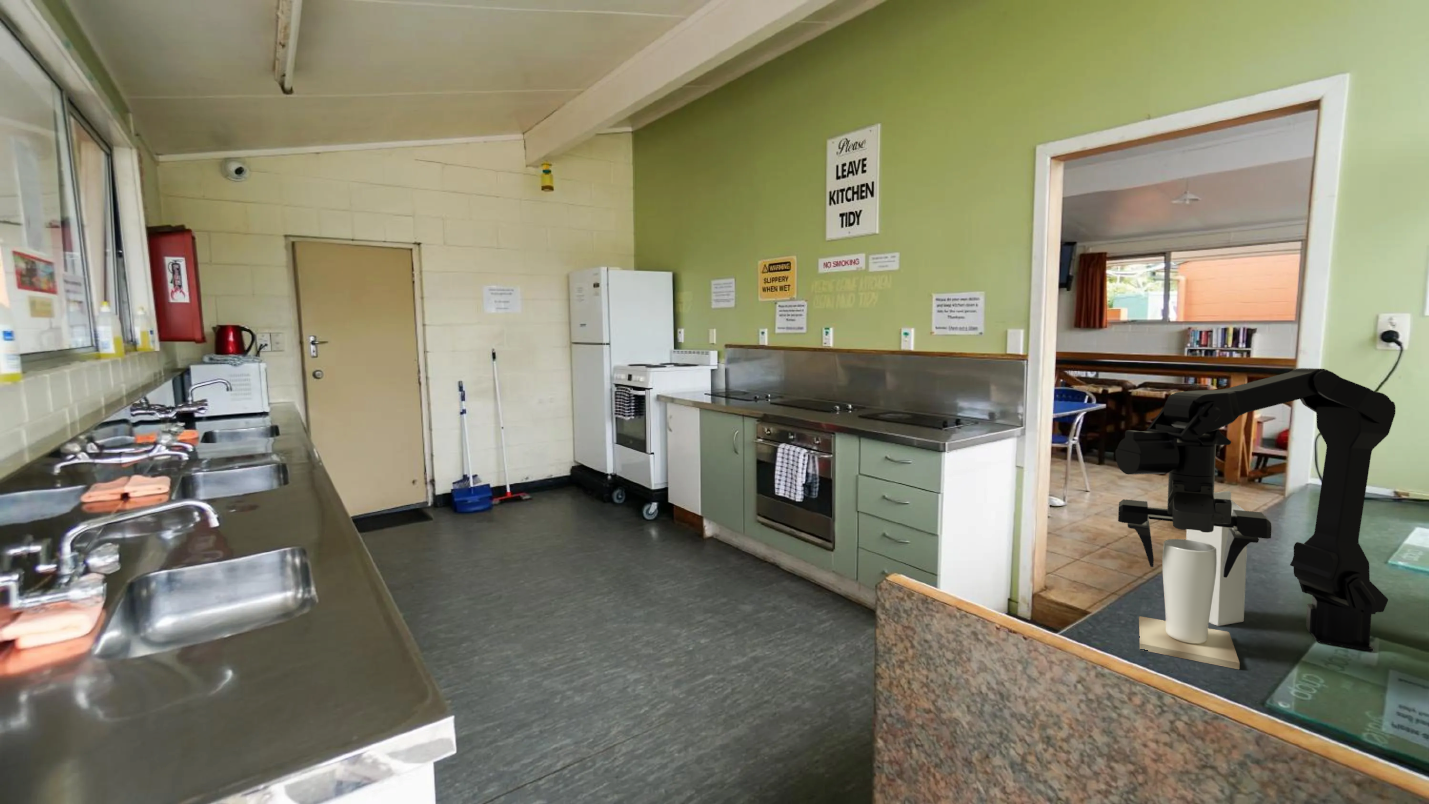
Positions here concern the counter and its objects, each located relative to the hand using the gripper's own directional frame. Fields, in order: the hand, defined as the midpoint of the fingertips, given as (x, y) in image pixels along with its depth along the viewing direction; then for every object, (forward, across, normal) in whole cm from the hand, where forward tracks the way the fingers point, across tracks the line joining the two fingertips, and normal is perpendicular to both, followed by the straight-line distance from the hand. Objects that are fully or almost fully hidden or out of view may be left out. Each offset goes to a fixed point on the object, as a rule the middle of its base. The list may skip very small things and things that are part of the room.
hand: (1187, 571), depth 99 cm
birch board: (+12, 0, 0) cm, 12 cm away
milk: (+12, +5, +15) cm, 20 cm away
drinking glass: (+11, 0, 0) cm, 11 cm away
